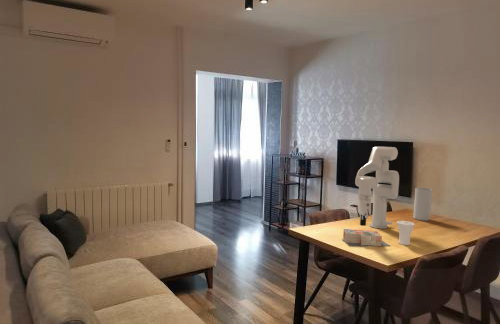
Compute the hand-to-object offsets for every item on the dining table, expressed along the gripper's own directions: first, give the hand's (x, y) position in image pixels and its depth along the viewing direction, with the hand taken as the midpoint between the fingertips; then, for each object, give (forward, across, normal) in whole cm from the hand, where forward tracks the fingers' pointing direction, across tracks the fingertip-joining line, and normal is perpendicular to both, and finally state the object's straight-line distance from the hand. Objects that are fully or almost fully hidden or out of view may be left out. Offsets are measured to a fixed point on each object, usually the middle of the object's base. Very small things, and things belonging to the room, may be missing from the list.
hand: (362, 225), depth 236 cm
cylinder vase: (+10, +54, -78) cm, 95 cm away
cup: (+10, -8, -25) cm, 28 cm away
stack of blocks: (+7, +2, +1) cm, 7 cm away
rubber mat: (+10, -5, 0) cm, 11 cm away
